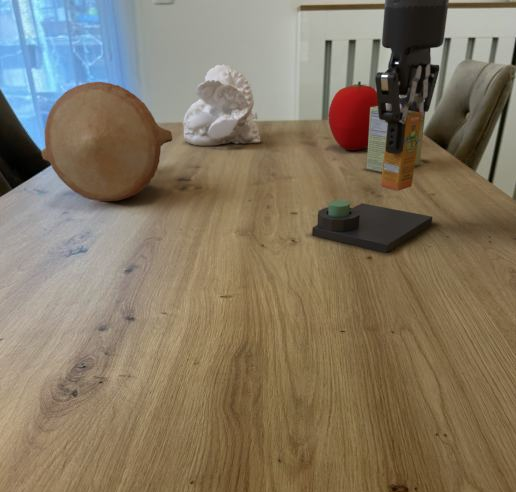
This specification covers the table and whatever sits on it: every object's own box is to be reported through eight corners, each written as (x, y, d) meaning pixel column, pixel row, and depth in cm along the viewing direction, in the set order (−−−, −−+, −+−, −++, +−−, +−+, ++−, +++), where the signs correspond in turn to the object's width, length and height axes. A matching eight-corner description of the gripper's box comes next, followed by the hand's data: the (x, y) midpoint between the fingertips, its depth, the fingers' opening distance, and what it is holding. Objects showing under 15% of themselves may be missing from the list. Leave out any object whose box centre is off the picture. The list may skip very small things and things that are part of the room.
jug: (4, 141, 85) (53, 130, 112) (94, 234, 92) (120, 203, 119) (95, 50, 81) (123, 61, 108) (183, 154, 88) (189, 140, 115)
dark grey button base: (358, 209, 89) (360, 191, 88) (431, 224, 82) (434, 204, 81) (309, 234, 80) (309, 214, 78) (386, 253, 73) (388, 231, 72)
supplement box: (399, 191, 76) (407, 114, 71) (380, 187, 79) (386, 112, 73) (414, 187, 78) (422, 111, 73) (394, 182, 80) (401, 108, 75)
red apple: (365, 156, 121) (370, 85, 114) (318, 151, 126) (320, 83, 119) (385, 145, 130) (391, 79, 123) (341, 141, 135) (344, 77, 128)
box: (397, 160, 117) (403, 100, 111) (420, 165, 113) (427, 102, 107) (365, 169, 111) (369, 106, 105) (387, 174, 107) (393, 109, 101)
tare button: (335, 210, 81) (336, 198, 80) (353, 214, 79) (353, 202, 78) (324, 216, 79) (324, 204, 78) (342, 219, 77) (342, 207, 76)
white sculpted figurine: (171, 98, 143) (233, 51, 135) (217, 164, 152) (277, 123, 144) (151, 114, 128) (219, 62, 120) (203, 186, 136) (269, 142, 128)
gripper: (419, 2, 60) (402, 163, 69) (468, 1, 69) (448, 143, 78) (359, 4, 64) (350, 156, 73) (413, 3, 74) (400, 138, 82)
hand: (401, 149), depth 76 cm, fingers closed on supplement box, 3 cm apart
